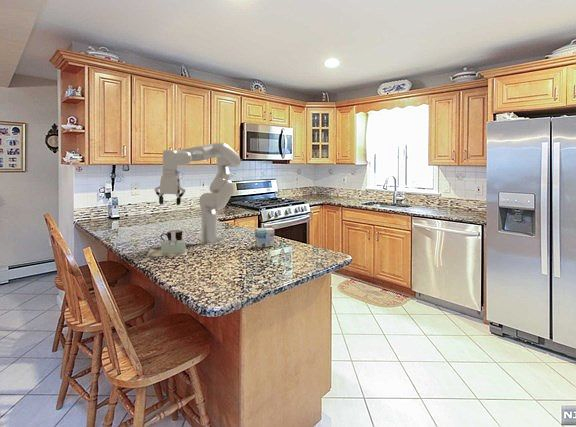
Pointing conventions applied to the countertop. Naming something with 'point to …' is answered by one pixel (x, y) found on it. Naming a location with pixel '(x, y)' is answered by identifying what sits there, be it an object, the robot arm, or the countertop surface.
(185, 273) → the countertop surface
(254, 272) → the countertop surface
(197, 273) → the countertop surface
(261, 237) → the light bulb box
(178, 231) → the coffee mug
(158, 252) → the base plate
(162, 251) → the slotted block
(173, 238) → the t key
